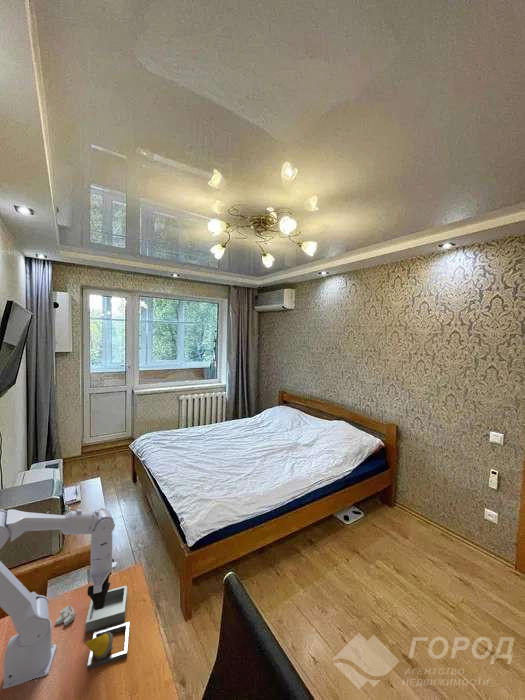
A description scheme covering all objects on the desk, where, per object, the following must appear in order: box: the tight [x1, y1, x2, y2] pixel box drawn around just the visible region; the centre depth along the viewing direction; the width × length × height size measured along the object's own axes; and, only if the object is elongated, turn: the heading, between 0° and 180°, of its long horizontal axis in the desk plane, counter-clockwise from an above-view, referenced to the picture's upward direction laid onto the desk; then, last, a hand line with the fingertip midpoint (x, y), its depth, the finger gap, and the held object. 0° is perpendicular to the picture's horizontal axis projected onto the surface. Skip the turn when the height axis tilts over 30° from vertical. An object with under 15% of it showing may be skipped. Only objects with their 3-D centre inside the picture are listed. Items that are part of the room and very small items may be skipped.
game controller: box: [55, 603, 90, 626], centre depth 94 cm, size 6×12×3 cm, turn 155°
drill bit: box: [84, 632, 114, 660], centre depth 80 cm, size 5×5×10 cm
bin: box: [84, 584, 128, 634], centre depth 93 cm, size 11×11×4 cm
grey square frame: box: [86, 621, 130, 671], centre depth 83 cm, size 10×10×2 cm
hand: (101, 597), depth 87 cm, fingers open, 7 cm apart
